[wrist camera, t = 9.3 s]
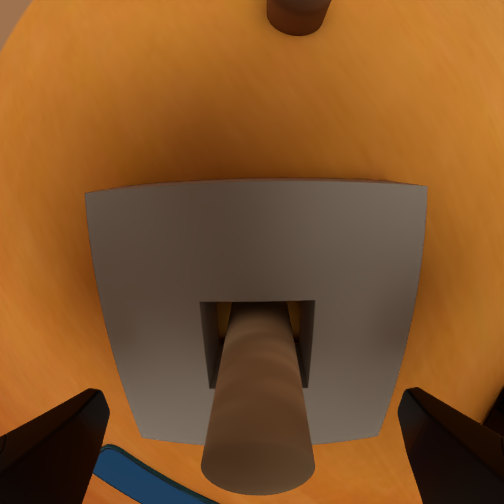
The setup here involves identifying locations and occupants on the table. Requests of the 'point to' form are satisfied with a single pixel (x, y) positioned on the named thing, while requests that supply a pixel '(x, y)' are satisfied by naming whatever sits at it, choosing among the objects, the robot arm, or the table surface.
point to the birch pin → (258, 406)
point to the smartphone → (141, 480)
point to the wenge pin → (297, 15)
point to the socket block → (258, 290)
